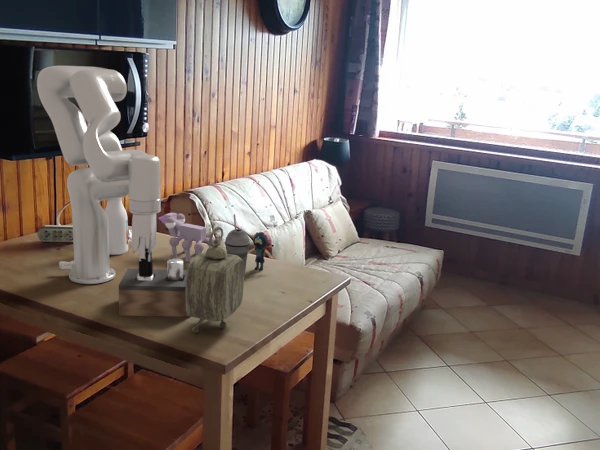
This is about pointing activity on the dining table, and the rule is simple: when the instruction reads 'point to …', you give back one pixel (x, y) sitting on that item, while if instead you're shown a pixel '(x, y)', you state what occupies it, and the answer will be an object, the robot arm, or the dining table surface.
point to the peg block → (152, 295)
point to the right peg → (175, 270)
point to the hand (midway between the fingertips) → (145, 275)
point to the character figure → (260, 250)
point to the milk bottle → (117, 227)
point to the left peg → (145, 278)
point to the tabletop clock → (214, 284)
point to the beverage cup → (237, 243)
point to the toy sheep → (185, 234)
